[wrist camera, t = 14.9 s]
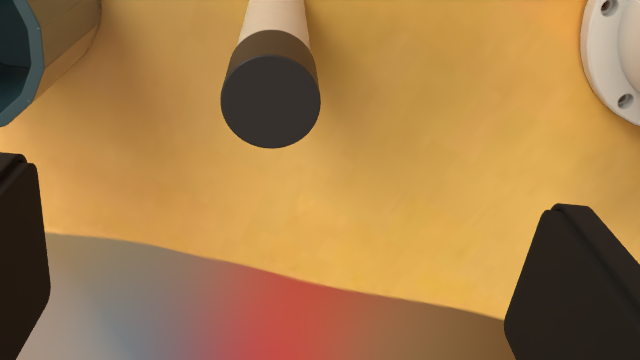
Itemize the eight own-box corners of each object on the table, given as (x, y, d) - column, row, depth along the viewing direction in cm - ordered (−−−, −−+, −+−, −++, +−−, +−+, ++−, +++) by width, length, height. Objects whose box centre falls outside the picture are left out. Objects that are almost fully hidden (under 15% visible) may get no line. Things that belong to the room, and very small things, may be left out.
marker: (309, -22, 29) (326, 60, 17) (302, 37, 31) (314, 153, 18) (249, -29, 29) (222, 49, 17) (245, 31, 30) (218, 144, 18)
